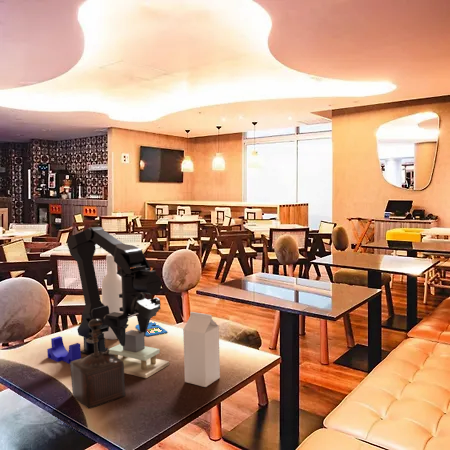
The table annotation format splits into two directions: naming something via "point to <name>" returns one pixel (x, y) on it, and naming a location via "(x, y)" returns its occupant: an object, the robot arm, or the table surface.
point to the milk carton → (201, 350)
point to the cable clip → (63, 351)
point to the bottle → (111, 292)
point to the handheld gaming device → (151, 327)
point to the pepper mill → (97, 374)
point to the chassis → (142, 366)
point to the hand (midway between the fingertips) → (133, 341)
